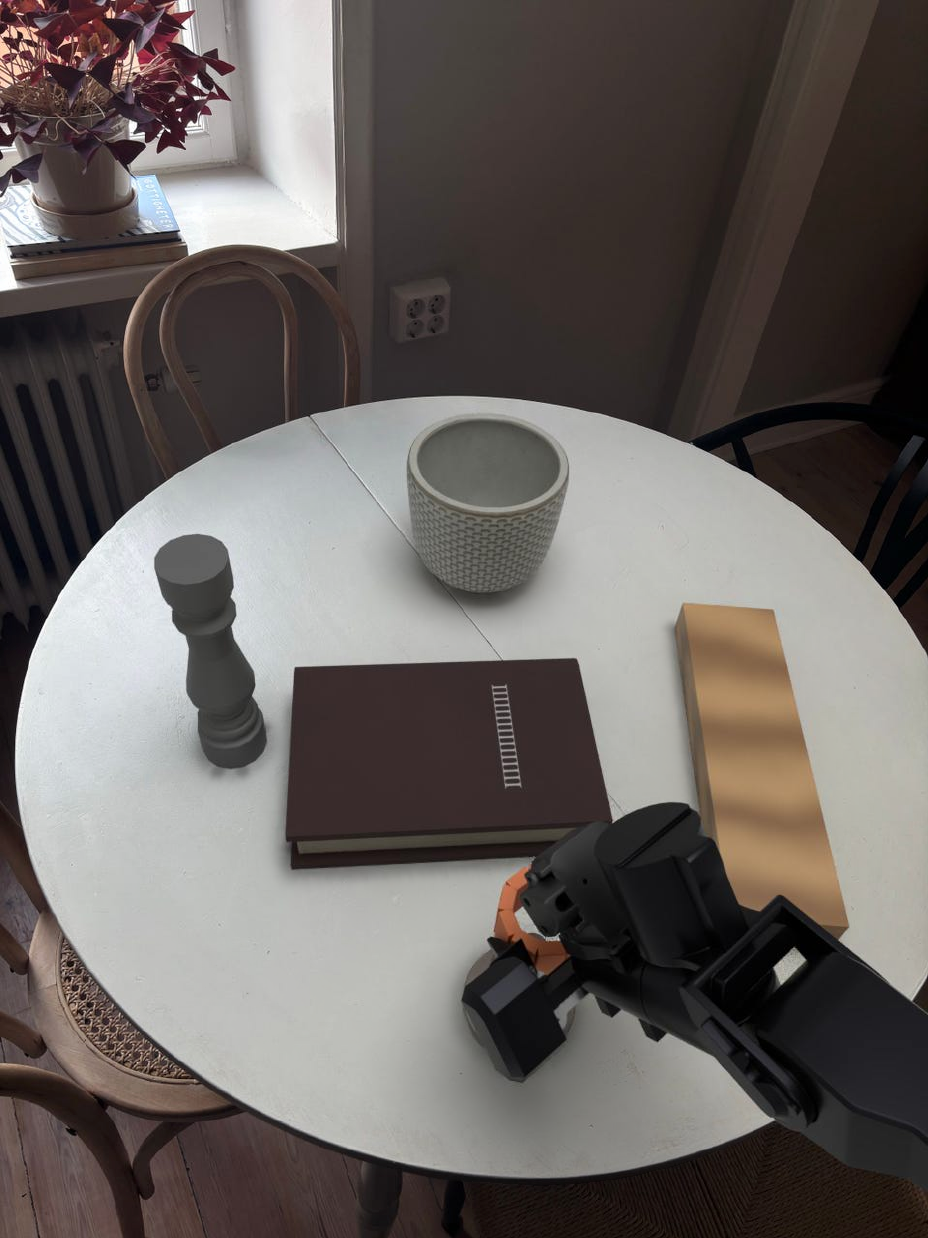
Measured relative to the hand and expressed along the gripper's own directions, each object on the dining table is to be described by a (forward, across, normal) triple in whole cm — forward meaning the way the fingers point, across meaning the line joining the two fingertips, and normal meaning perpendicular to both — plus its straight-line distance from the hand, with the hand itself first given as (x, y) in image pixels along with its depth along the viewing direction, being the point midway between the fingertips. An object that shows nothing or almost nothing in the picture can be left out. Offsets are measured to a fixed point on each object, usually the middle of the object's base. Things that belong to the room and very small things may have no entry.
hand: (528, 914), depth 64 cm
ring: (0, 0, +1) cm, 1 cm away
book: (+24, -8, -4) cm, 25 cm away
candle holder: (+34, +6, -15) cm, 38 cm away
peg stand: (+9, 0, +11) cm, 14 cm away
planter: (+37, -29, -18) cm, 50 cm away
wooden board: (+11, -32, +8) cm, 35 cm away
